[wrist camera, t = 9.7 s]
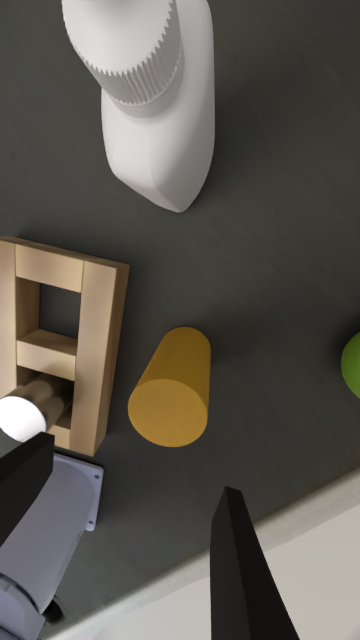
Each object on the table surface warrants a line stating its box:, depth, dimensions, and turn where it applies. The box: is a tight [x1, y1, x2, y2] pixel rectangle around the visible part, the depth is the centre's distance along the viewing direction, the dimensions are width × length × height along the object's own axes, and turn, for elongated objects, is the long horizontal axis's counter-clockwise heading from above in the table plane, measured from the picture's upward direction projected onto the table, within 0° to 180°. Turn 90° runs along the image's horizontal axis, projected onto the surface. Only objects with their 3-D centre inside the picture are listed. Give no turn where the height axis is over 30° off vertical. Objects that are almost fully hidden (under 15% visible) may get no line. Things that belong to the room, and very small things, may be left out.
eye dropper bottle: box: [62, 0, 215, 213], centre depth 9 cm, size 4×6×12 cm
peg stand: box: [0, 237, 130, 457], centre depth 19 cm, size 9×16×2 cm, turn 168°
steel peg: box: [0, 371, 75, 442], centre depth 19 cm, size 4×4×5 cm
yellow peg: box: [128, 327, 211, 447], centre depth 15 cm, size 4×4×8 cm
